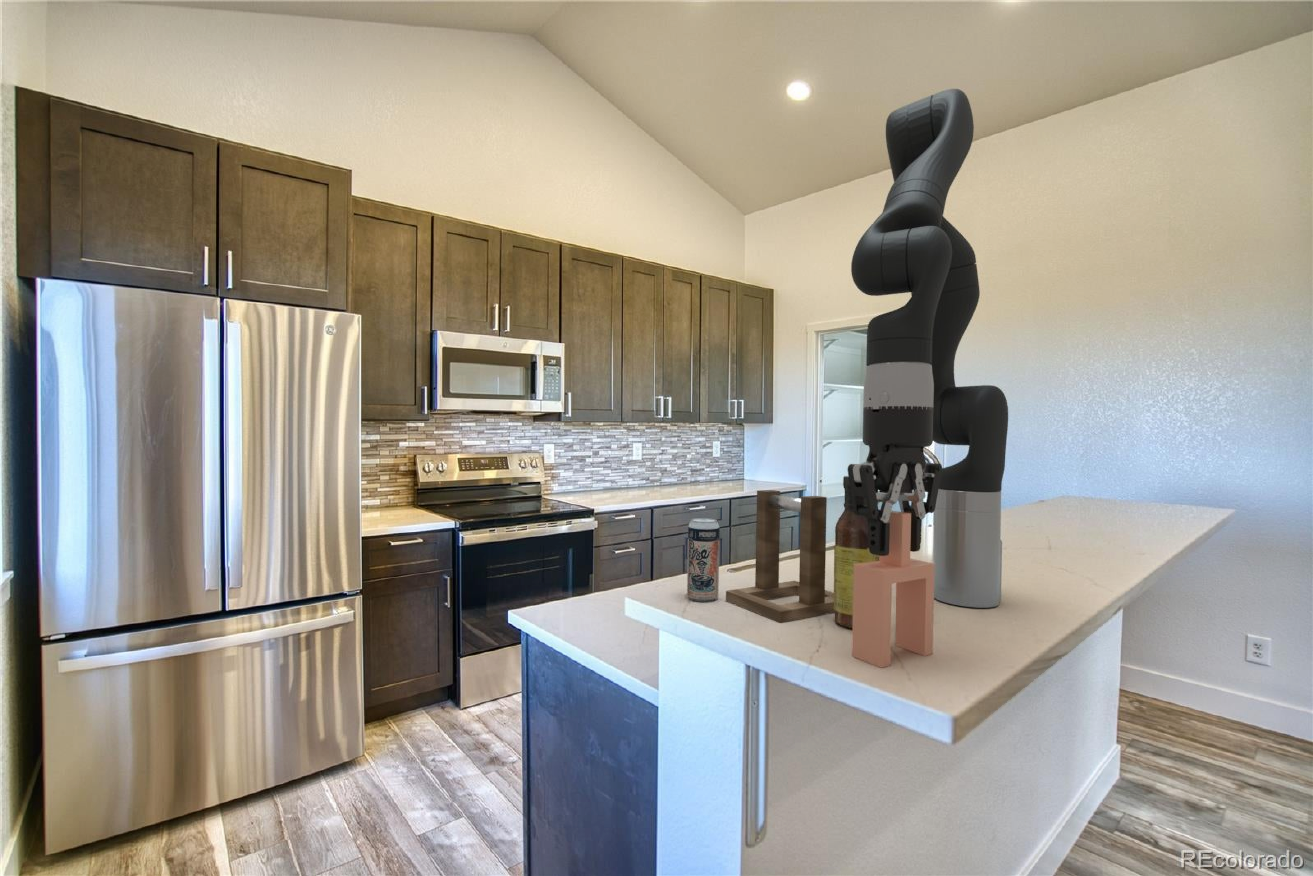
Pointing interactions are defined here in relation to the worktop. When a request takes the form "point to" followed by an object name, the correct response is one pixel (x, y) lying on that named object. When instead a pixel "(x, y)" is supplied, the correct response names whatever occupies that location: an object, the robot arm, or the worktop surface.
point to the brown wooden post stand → (767, 561)
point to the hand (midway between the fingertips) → (894, 551)
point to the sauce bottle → (848, 556)
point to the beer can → (703, 559)
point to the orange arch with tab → (877, 596)
